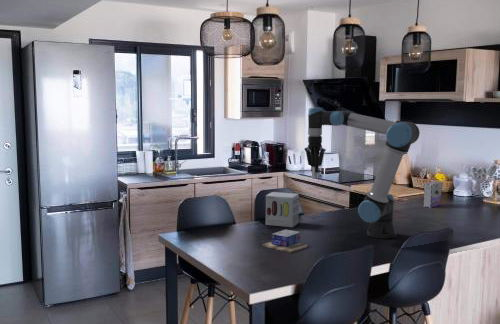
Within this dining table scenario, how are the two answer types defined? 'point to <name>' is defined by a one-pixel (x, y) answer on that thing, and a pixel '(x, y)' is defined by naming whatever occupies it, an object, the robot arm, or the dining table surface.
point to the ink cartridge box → (285, 237)
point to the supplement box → (282, 209)
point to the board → (286, 249)
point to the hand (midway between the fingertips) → (314, 178)
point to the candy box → (432, 194)
